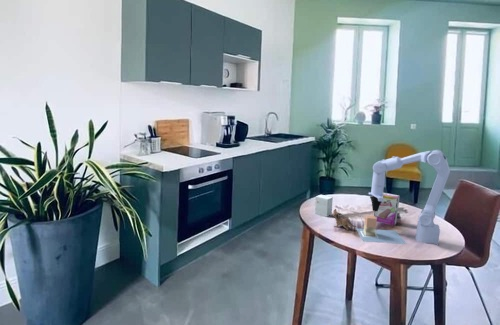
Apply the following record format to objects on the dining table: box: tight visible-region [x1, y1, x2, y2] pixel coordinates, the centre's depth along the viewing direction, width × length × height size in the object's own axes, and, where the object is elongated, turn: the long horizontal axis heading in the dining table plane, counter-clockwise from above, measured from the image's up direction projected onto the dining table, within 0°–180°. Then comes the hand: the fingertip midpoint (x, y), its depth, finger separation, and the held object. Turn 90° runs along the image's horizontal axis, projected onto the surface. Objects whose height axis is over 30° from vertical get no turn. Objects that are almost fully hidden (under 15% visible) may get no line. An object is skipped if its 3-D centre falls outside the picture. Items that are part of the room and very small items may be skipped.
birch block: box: [363, 223, 377, 236], centre depth 177 cm, size 4×4×4 cm
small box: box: [314, 194, 333, 218], centre depth 206 cm, size 8×6×10 cm
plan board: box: [355, 227, 407, 245], centre depth 177 cm, size 20×16×1 cm
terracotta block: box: [363, 214, 378, 229], centre depth 177 cm, size 4×4×4 cm
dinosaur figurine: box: [332, 209, 357, 231], centre depth 185 cm, size 14×6×9 cm, turn 49°
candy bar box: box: [373, 192, 401, 226], centre depth 194 cm, size 11×5×16 cm, turn 58°
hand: (375, 210), depth 183 cm, fingers closed
